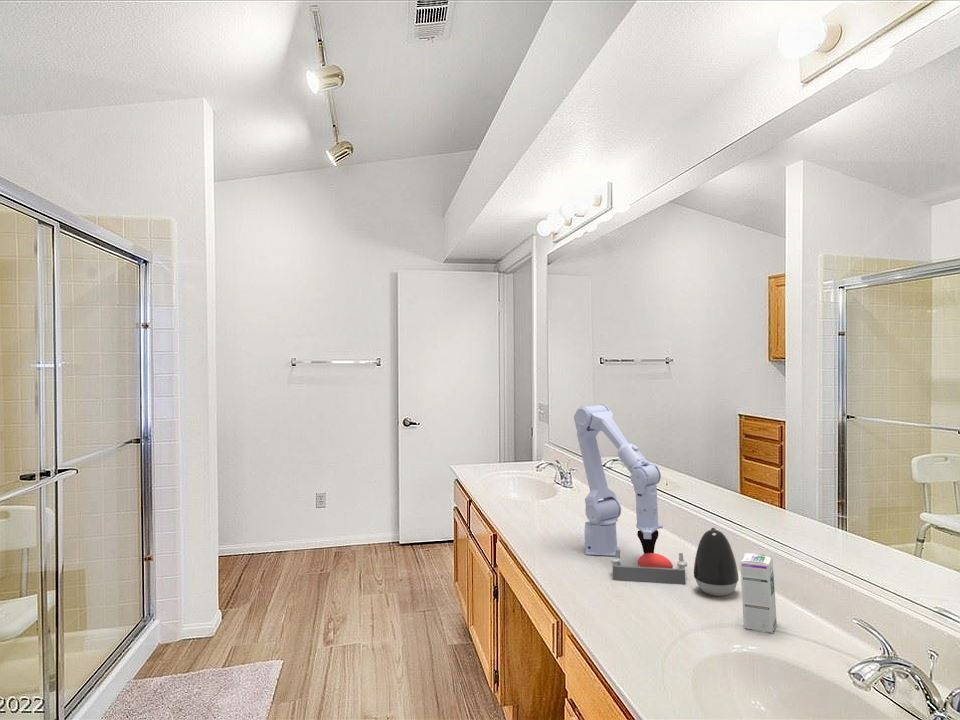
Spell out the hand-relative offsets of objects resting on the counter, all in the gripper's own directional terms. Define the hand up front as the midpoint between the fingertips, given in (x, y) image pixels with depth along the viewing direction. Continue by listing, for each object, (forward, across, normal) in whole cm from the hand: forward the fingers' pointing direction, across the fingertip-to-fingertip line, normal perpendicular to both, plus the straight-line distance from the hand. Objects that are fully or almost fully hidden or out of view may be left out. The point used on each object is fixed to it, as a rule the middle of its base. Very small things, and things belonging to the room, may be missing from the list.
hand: (648, 557), depth 167 cm
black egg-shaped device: (+3, -16, -16) cm, 23 cm away
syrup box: (+3, -34, -23) cm, 41 cm away
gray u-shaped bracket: (+2, -5, 0) cm, 6 cm away
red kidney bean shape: (+3, -4, -1) cm, 5 cm away
